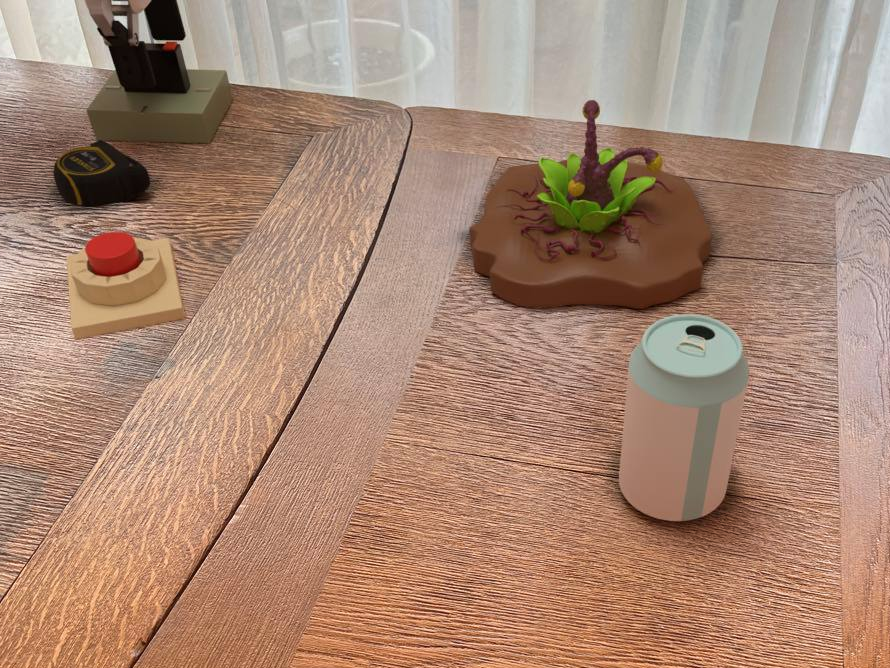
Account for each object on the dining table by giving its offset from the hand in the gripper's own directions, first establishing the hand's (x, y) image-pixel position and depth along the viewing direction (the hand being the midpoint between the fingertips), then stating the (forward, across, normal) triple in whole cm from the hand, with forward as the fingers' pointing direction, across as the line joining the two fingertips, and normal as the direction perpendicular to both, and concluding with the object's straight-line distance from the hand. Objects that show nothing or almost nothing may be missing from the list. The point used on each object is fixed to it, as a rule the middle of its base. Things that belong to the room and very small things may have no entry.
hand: (155, 62), depth 97 cm
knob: (+2, 0, 0) cm, 3 cm away
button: (+2, +30, +6) cm, 31 cm away
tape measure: (+6, +14, -1) cm, 15 cm away
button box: (+5, +30, +6) cm, 31 cm away
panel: (+6, 0, 0) cm, 6 cm away
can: (+6, +48, +48) cm, 68 cm away
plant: (+6, +19, +42) cm, 46 cm away
